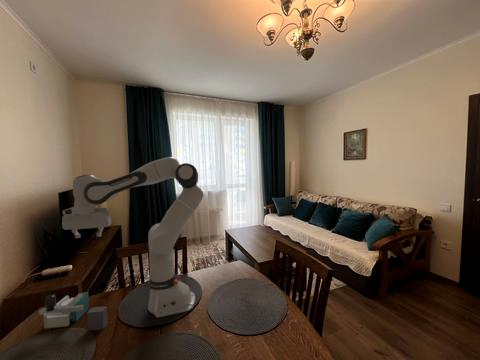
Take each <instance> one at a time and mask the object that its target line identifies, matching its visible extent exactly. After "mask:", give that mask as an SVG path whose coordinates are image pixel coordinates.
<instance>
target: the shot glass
mask: <svg viewBox="0 0 480 360" xmlns="http://www.w3.org/2000/svg"><path fill="white" fill-rule="evenodd" d="M75 297H76V296H75ZM75 297H74V296H73V297H69V299H67V300H65V301H63V302H62V303H60V305H59V307H63V306H66V305H67V304H68V303H69V302H70V301H71V300H73V299H74V298H75ZM61 314H62V315H66V314H69V321H71V320H72V316H71V312H64V313H61Z"/></svg>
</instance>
